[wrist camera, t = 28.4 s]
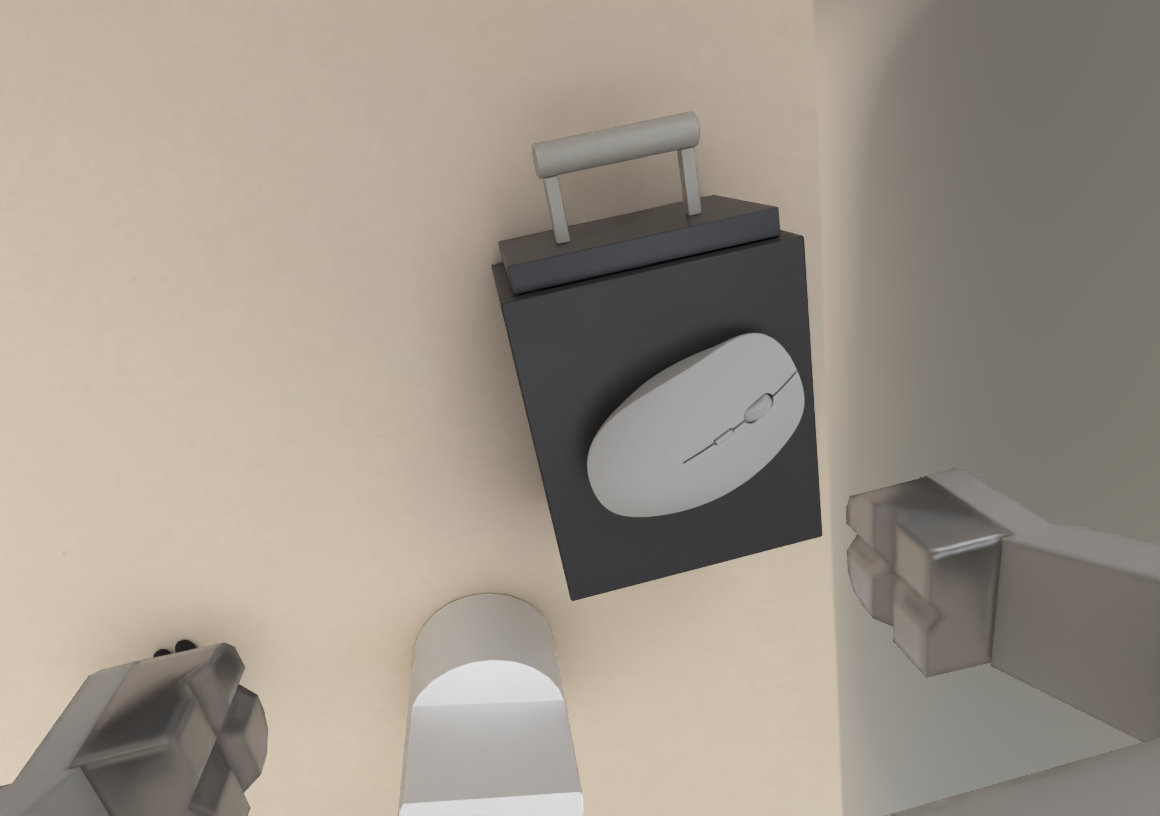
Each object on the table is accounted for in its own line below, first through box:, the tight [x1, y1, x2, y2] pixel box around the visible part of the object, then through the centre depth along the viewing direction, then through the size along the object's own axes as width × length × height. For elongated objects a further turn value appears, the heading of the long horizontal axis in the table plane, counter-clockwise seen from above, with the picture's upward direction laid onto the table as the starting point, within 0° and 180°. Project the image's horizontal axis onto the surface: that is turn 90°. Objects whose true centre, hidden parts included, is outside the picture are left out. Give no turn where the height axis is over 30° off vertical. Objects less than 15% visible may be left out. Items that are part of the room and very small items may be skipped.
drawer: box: [498, 112, 780, 295], centre depth 33 cm, size 18×11×8 cm, turn 11°
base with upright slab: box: [398, 593, 584, 816], centre depth 39 cm, size 9×9×12 cm
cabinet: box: [492, 230, 822, 601], centre depth 34 cm, size 15×13×10 cm
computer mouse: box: [587, 333, 805, 517], centre depth 28 cm, size 6×10×3 cm, turn 119°
